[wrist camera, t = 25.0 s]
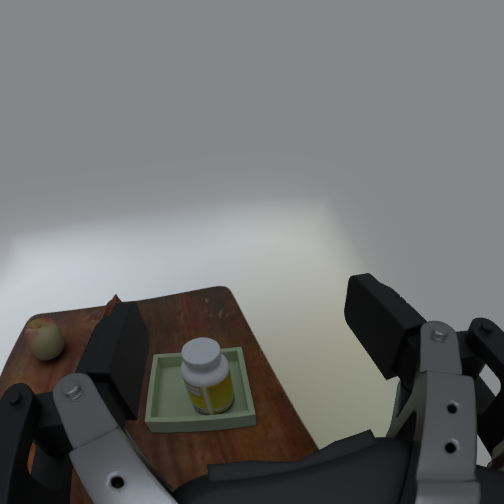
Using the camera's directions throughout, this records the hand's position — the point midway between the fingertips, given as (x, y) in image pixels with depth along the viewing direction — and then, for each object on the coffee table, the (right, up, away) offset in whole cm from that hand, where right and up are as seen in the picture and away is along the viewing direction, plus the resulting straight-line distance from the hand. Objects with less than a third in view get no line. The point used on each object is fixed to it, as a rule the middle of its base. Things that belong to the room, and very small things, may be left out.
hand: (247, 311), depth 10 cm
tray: (-7, -19, +27) cm, 34 cm away
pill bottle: (-5, -20, +25) cm, 32 cm away
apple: (-41, -19, +32) cm, 55 cm away
